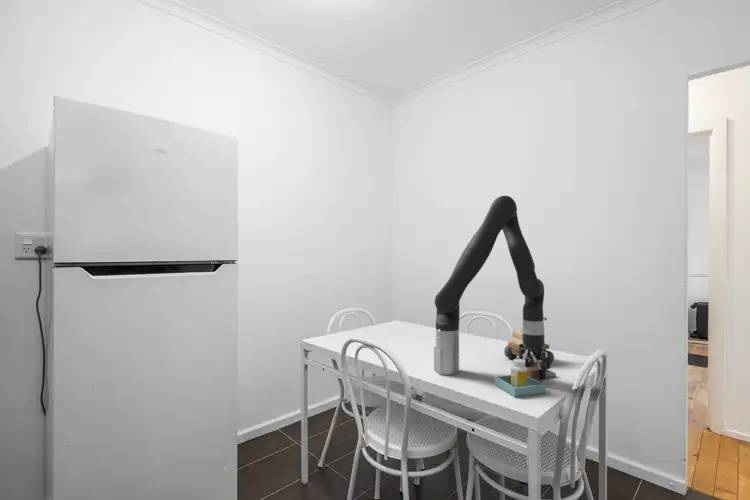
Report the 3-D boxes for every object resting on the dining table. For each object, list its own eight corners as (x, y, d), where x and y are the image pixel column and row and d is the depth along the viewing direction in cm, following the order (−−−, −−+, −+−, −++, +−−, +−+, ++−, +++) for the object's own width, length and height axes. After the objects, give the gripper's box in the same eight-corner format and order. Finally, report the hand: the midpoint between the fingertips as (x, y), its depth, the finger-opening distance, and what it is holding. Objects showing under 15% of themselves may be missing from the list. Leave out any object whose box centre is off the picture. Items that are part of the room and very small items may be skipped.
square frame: (537, 379, 142) (537, 375, 142) (523, 372, 150) (523, 368, 150) (555, 377, 144) (555, 373, 144) (541, 370, 152) (541, 366, 152)
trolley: (523, 367, 156) (523, 321, 156) (504, 358, 169) (504, 315, 169) (554, 364, 160) (553, 319, 159) (532, 355, 173) (532, 313, 173)
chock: (530, 384, 137) (530, 370, 137) (523, 380, 141) (523, 367, 141) (542, 383, 138) (542, 369, 138) (535, 379, 142) (535, 366, 142)
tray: (514, 397, 125) (514, 388, 125) (494, 384, 136) (494, 376, 136) (545, 393, 128) (545, 384, 128) (523, 381, 139) (523, 373, 139)
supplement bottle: (508, 387, 132) (508, 360, 132) (514, 383, 136) (514, 357, 136) (523, 391, 128) (523, 363, 128) (529, 387, 132) (529, 360, 132)
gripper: (555, 335, 133) (556, 381, 133) (529, 327, 147) (530, 368, 147) (537, 337, 131) (538, 383, 131) (512, 329, 145) (513, 370, 145)
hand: (534, 375), depth 139 cm, fingers open, 8 cm apart
